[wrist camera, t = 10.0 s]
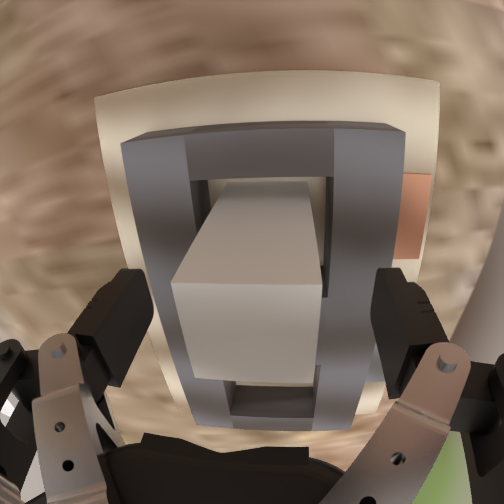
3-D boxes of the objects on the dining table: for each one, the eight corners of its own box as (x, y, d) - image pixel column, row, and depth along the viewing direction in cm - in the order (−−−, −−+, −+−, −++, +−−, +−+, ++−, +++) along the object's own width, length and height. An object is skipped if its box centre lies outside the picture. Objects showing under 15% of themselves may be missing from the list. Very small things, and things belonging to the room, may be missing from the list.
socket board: (102, 95, 16) (61, 103, 12) (431, 81, 13) (468, 83, 10) (179, 399, 28) (168, 434, 25) (373, 404, 26) (379, 440, 22)
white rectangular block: (227, 182, 16) (170, 282, 9) (306, 181, 16) (322, 284, 8) (233, 251, 18) (194, 377, 11) (305, 251, 18) (312, 383, 10)
